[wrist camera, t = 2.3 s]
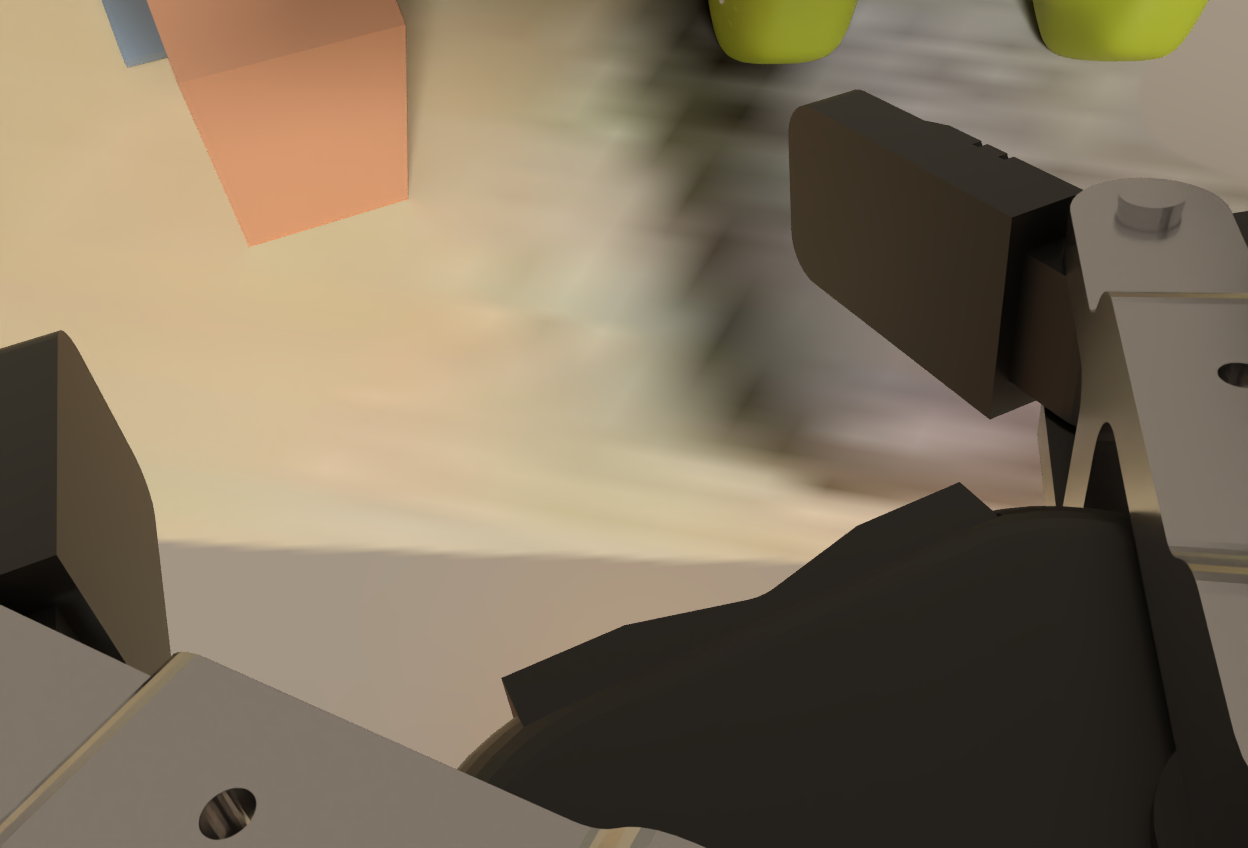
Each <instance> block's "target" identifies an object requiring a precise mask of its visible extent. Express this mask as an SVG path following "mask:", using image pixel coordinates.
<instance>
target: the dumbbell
mask: <svg viewBox="0 0 1248 848" xmlns="http://www.w3.org/2000/svg"><path fill="white" fill-rule="evenodd" d="M708 1H709V7H710V13H711V18H712V23H713V28H714V32H715V35H716V38H717V40H718V42H719V45H720V46H721V48H722V50H723V51H724V52H725V53H726V54H727V55H728V56H730V57H731V58H733V59H735V60H737V61H741V62H746V63H755V64H791V63H803V62H809V61H814V60H817V59H820V58H822V57H825V56H827V55H829V54H830V53H831V52H832V51H833V50H834V49H835V48H836V47H837V46H839V44H840V42H841V40H842V39H843V37H844V35H845V33H846V31H847V29H848V27H849V24H850V21H851V19H852V16H853V13H854V10H855V7H856V4H857V1H858V0H708ZM1208 1H1209V0H1033V5H1034V9H1035V14H1036V18H1037V22H1038V26H1039V30H1040V33H1041V37H1042V39H1043V41H1044V43H1045V44H1046V46H1047V47H1048V49H1049V50H1051V51H1052V52H1053V53H1055V54H1057V55H1059V56H1063V57H1067V58H1072V59H1079V60H1092V61H1143V60H1151V59H1157V58H1162V57H1164V56H1166V55H1168V54H1170V53H1171V52H1172V51H1174V50H1175V49H1176V48H1177V47H1178V46H1179V45H1180V44H1181V43H1182V42H1183V41H1184V39H1185V38H1186V37H1187V35H1188V34H1189V32H1190V31H1191V30H1192V28H1193V26H1194V25H1195V23H1196V22H1197V20H1198V18H1199V16H1200V15H1201V13H1202V11H1203V10H1204V8H1205V6H1206V4H1207V2H1208Z"/></svg>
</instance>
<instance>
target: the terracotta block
mask: <svg viewBox="0 0 1248 848" xmlns="http://www.w3.org/2000/svg"><path fill="white" fill-rule="evenodd" d="M147 3H148V5H149V8H150V11H151V14H152V16H153V19H154V22H155V24H156V27H157V30H158V32H159V35H160V38H161V40H162V43H163V46H164V48H165V51H166V54H167V56H168V59H169V62H170V64H171V67H172V70H173V72H174V75H175V78H176V81H177V83H178V86H179V88H180V90H181V92H182V95H183V97H184V99H185V101H186V104H187V106H188V108H189V111H190V113H191V115H192V117H193V120H194V122H195V124H196V127H197V129H198V131H199V133H200V136H201V138H202V140H203V143H204V145H205V147H206V149H207V152H208V154H209V156H210V159H211V161H212V163H213V165H214V168H215V170H216V172H217V174H218V177H219V179H220V181H221V184H222V186H223V188H224V190H225V193H226V195H227V197H228V200H229V202H230V204H231V206H232V209H233V211H234V213H235V216H236V218H237V220H238V222H239V225H240V227H241V229H242V232H243V234H244V236H245V238H246V241H247V243H248V245H249V247H251V246H254V245H257V244H261V243H264V242H267V241H271V240H274V239H277V238H281V237H284V236H287V235H291V234H294V233H297V232H300V231H304V230H307V229H310V228H314V227H317V226H320V225H324V224H327V223H330V222H334V221H337V220H340V219H344V218H347V217H350V216H354V215H357V214H360V213H363V212H367V211H370V210H373V209H377V208H380V207H383V206H387V205H390V204H393V203H397V202H400V201H403V200H407V199H408V167H407V88H406V24H405V21H404V19H403V16H402V14H401V11H400V9H399V6H398V4H397V1H396V0H147Z"/></svg>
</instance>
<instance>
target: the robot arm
mask: <svg viewBox="0 0 1248 848" xmlns="http://www.w3.org/2000/svg"><path fill="white" fill-rule="evenodd" d="M789 168H790V200H791V231H792V240H793V245H794V249H795V253H796V255H797V258H798V261H799V263H800V265H801V267H802V269H803V270H804V272H805V273H806V275H807V276H808V277H809V279H810V280H811V281H812V282H814V283H815V284H816V285H817V286H819V287H820V288H821V289H822V290H824V291H825V292H826V293H828V294H829V295H830V296H831V297H833V298H834V299H835V300H837V301H838V302H839V303H841V304H842V305H843V306H844V307H846V308H847V309H848V310H850V311H851V312H852V313H853V314H855V315H856V316H857V317H859V318H860V319H861V320H862V321H864V322H865V323H866V324H868V325H869V326H870V327H871V328H873V329H874V330H875V331H877V332H878V333H879V334H880V335H882V336H883V337H884V338H886V339H887V340H888V341H889V342H891V343H892V344H893V345H895V346H896V347H897V348H898V349H900V350H901V351H902V352H904V353H905V354H906V355H907V356H909V357H910V358H911V359H913V360H914V361H915V362H916V363H918V364H919V365H920V366H922V367H923V368H924V369H925V370H927V371H928V372H929V373H931V374H932V375H933V376H934V377H936V378H937V379H938V380H940V381H941V382H942V383H944V384H945V385H946V386H947V387H949V388H950V389H951V390H953V391H954V392H955V393H956V394H958V395H959V396H960V397H962V398H963V399H964V400H965V401H967V402H968V403H969V404H971V405H972V406H973V407H974V408H976V409H977V410H978V411H980V412H981V413H982V414H983V415H985V416H986V417H987V418H989V419H992V418H995V417H997V416H999V415H1002V414H1004V413H1007V412H1009V411H1011V410H1014V409H1016V408H1019V407H1021V406H1024V405H1026V404H1028V403H1031V402H1033V401H1038V402H1039V403H1041V409H1040V416H1039V423H1038V433H1037V436H1038V445H1039V454H1040V463H1041V472H1042V482H1043V491H1044V500H1045V506H1028V507H1018V508H1008V509H1000V510H994V511H992V510H991V509H990V508H989V507H988V506H986V505H985V504H984V503H983V502H982V501H981V500H980V499H978V498H977V497H976V496H975V495H974V494H973V493H972V492H970V491H969V490H968V489H967V488H966V487H965V486H964V485H962V484H961V483H960V482H959V483H956V484H954V485H952V486H949V487H947V488H945V489H942V490H940V491H938V492H935V493H933V494H931V495H928V496H926V497H924V498H921V499H919V500H917V501H914V502H912V503H910V504H907V505H905V506H903V507H900V508H898V509H896V510H893V511H891V512H889V513H886V514H884V515H882V516H879V517H877V518H875V519H872V520H870V521H868V522H865V523H863V524H861V525H858V526H856V527H855V528H854V529H852V530H851V531H850V532H848V533H847V534H846V535H844V536H843V537H842V538H840V539H839V540H838V541H836V542H835V543H834V544H832V545H831V546H830V547H828V548H827V549H826V550H824V551H823V552H822V553H820V554H819V555H818V556H816V557H815V558H814V559H812V560H811V561H810V562H808V563H807V564H806V565H804V566H803V567H802V568H800V569H799V570H798V571H796V572H795V573H794V574H792V575H791V576H790V577H788V578H787V579H786V580H784V581H783V582H782V583H780V584H779V585H778V586H777V587H775V588H774V589H772V590H771V591H769V592H768V593H766V594H764V595H761V596H759V597H757V598H753V599H750V600H745V601H740V602H736V603H731V604H726V605H721V606H716V607H711V608H707V609H702V610H697V611H692V612H687V613H682V614H677V615H672V616H668V617H663V618H658V619H653V620H648V621H643V622H639V623H634V624H629V625H624V626H622V627H620V628H617V629H615V630H613V631H611V632H608V633H606V634H603V635H601V636H599V637H596V638H594V639H592V640H589V641H587V642H585V643H582V644H580V645H578V646H575V647H573V648H571V649H568V650H566V651H564V652H561V653H559V654H557V655H554V656H552V657H550V658H547V659H545V660H543V661H540V662H538V663H536V664H533V665H531V666H529V667H526V668H524V669H522V670H519V671H517V672H515V673H512V674H510V675H508V676H506V677H503V678H502V682H503V685H504V688H505V692H506V695H507V698H508V701H509V705H510V707H511V711H512V714H513V719H512V720H511V721H509V722H508V723H507V724H506V725H504V726H503V727H501V728H500V729H499V730H497V731H496V732H495V733H494V734H492V735H491V736H490V737H489V738H488V739H487V740H486V741H485V742H484V743H482V744H481V745H480V746H479V747H478V748H477V749H476V750H475V751H474V752H472V753H471V755H469V756H468V757H467V758H466V760H465V761H464V762H463V763H462V764H461V765H460V766H459V768H458V769H455V768H452V767H450V766H448V765H446V764H443V763H441V762H439V761H436V760H434V759H432V758H430V757H428V756H425V755H423V754H421V753H419V752H416V751H414V750H412V749H410V748H407V747H405V746H403V745H401V744H399V743H396V742H394V741H392V740H390V739H387V738H385V737H383V736H380V735H378V734H376V733H374V732H372V731H369V730H367V729H365V728H363V727H360V726H358V725H356V724H354V723H351V722H349V721H347V720H345V719H342V718H340V717H338V716H336V715H333V714H331V713H329V712H327V711H324V710H322V709H320V708H317V707H315V706H313V705H311V704H309V703H306V702H304V701H302V700H299V699H297V698H295V697H293V696H291V695H288V694H286V693H284V692H282V691H280V690H277V689H275V688H273V687H271V686H268V685H266V684H264V683H262V682H259V681H257V680H255V679H252V678H250V677H248V676H246V675H244V674H241V673H239V672H237V671H234V670H232V669H230V668H228V667H226V666H223V665H221V664H219V663H217V662H214V661H212V660H210V659H208V658H205V657H202V656H200V655H197V654H193V653H189V652H178V653H175V654H173V655H172V656H171V653H170V644H169V636H168V627H167V618H166V610H165V601H164V592H163V583H162V574H161V566H160V557H159V548H158V539H157V531H156V522H155V514H154V508H153V503H152V500H151V496H150V493H149V490H148V487H147V484H146V481H145V479H144V476H143V473H142V471H141V469H140V466H139V464H138V462H137V460H136V458H135V456H134V454H133V452H132V450H131V448H130V446H129V444H128V443H127V441H126V439H125V437H124V435H123V433H122V431H121V429H120V428H119V426H118V424H117V422H116V420H115V418H114V416H113V414H112V413H111V411H110V409H109V407H108V405H107V403H106V401H105V399H104V398H103V396H102V394H101V392H100V390H99V388H98V386H97V384H96V383H95V381H94V379H93V377H92V375H91V373H90V371H89V369H88V368H87V366H86V364H85V362H84V360H83V358H82V356H81V355H80V353H79V351H78V349H77V348H76V346H75V344H74V343H73V341H72V340H71V339H70V337H69V336H68V335H67V334H66V333H65V332H64V331H62V330H60V331H57V332H54V333H50V334H47V335H44V336H41V337H37V338H34V339H31V340H27V341H24V342H21V343H18V344H14V345H11V346H8V347H4V348H1V349H0V848H1248V211H1245V212H1238V213H1232V212H1231V210H1230V208H1229V206H1228V205H1227V204H1226V203H1225V202H1224V201H1223V200H1222V199H1221V198H1219V197H1218V196H1216V195H1215V194H1213V193H1211V192H1209V191H1207V190H1205V189H1203V188H1200V187H1197V186H1194V185H1191V184H1186V183H1182V182H1178V181H1172V180H1166V179H1155V178H1128V179H1119V180H1112V181H1107V182H1103V183H1100V184H1096V185H1093V186H1091V187H1089V188H1087V189H1085V190H1082V189H1080V188H1078V187H1076V186H1074V185H1072V184H1069V183H1067V182H1065V181H1063V180H1061V179H1059V178H1057V177H1055V176H1053V175H1051V174H1049V173H1047V172H1044V171H1042V170H1040V169H1038V168H1036V167H1034V166H1032V165H1030V164H1028V163H1026V162H1024V161H1022V160H1020V159H1017V158H1015V157H1012V158H1008V156H1007V153H1005V152H1003V151H1001V150H999V149H997V148H995V147H993V146H990V145H988V144H986V145H983V146H982V143H981V141H980V140H978V139H976V138H974V137H972V136H970V135H968V134H966V133H963V132H961V131H959V130H957V129H955V128H953V127H951V126H948V125H943V124H939V123H934V122H929V121H924V120H922V119H920V118H918V117H916V116H914V115H912V114H910V113H908V112H906V111H903V110H901V109H899V108H897V107H895V106H893V105H891V104H889V103H887V102H885V101H883V100H881V99H879V98H877V97H875V96H873V95H871V94H869V93H867V92H865V91H862V90H853V91H850V92H846V93H843V94H840V95H836V96H833V97H830V98H827V99H823V100H820V101H817V102H813V103H810V104H807V105H804V106H800V107H798V108H797V109H796V110H795V111H794V112H793V114H792V117H791V120H790V123H789Z"/></svg>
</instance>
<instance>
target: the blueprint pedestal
mask: <svg viewBox="0 0 1248 848" xmlns="http://www.w3.org/2000/svg"><path fill="white" fill-rule="evenodd" d="M102 3H103V5H104V8H105V11H106V13H107V16H108V19H109V22H110V24H111V27H112V30H113V32H114V35H115V38H116V41H117V43H118V46H119V49H120V51H121V54H122V57H123V60H124V62H125V64H126V66H127V68H128V67H132V66H136V65H140V64H144V63H148V62H151V61H155V60H159V59H163V58H167V57H168V56H167V54H166V51H165V48H164V46H163V43H162V40H161V38H160V35H159V32H158V30H157V27H156V24H155V22H154V19H153V16H152V14H151V11H150V8H149V5H148V3H147V0H102Z"/></svg>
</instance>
